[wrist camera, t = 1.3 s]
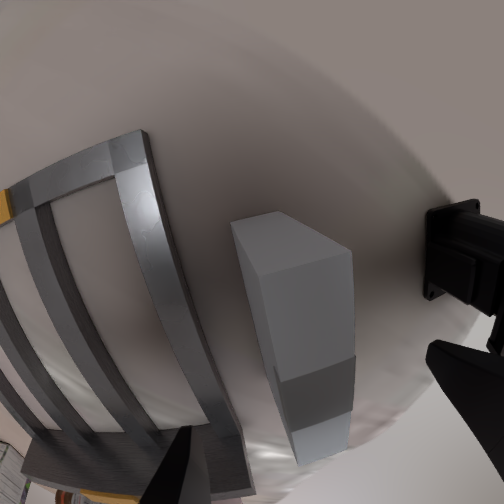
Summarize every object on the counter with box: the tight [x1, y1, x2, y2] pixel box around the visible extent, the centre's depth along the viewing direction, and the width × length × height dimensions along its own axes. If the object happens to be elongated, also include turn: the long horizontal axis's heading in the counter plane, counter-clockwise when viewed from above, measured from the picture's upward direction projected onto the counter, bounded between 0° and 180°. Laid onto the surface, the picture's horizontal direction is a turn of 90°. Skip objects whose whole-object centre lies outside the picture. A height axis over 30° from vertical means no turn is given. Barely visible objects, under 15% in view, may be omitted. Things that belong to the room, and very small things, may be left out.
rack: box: [0, 129, 256, 504], centre depth 10 cm, size 20×20×6 cm
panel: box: [230, 211, 356, 466], centre depth 11 cm, size 2×10×7 cm, turn 12°
